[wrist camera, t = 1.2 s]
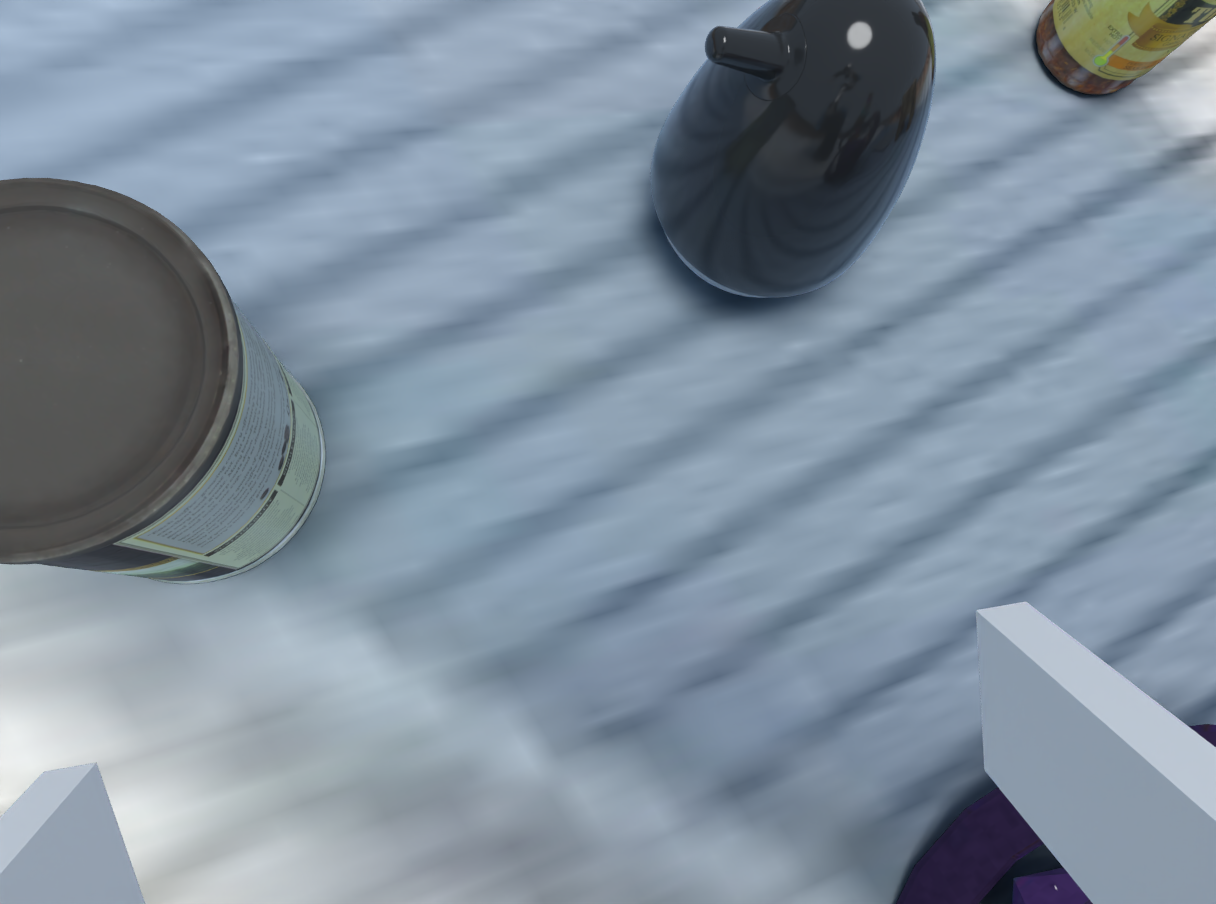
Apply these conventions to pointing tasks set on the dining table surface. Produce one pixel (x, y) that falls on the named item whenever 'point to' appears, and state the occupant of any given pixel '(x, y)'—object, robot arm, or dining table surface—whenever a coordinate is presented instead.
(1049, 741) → the robot arm
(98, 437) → the coffee can
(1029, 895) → the ringed planet sculpture
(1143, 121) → the dining table surface
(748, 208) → the black egg shape
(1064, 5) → the sauce bottle
